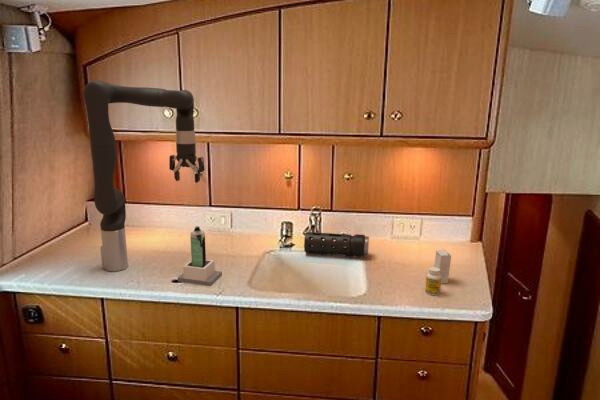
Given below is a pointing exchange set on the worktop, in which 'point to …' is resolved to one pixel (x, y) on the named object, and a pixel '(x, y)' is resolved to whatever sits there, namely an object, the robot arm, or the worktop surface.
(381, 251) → the worktop surface
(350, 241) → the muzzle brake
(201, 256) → the spray can
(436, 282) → the supplement bottle
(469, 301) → the worktop surface
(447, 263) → the skincare box
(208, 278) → the socket board
